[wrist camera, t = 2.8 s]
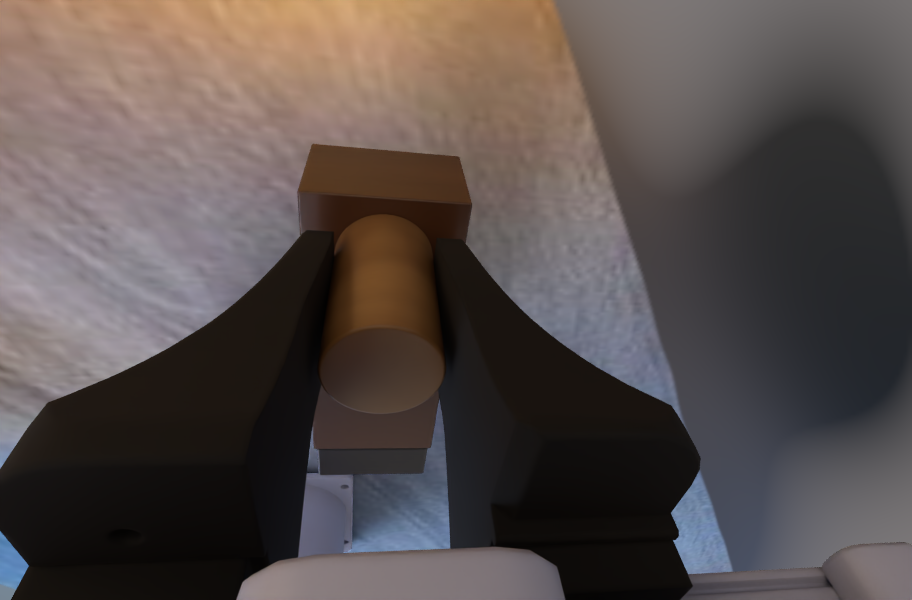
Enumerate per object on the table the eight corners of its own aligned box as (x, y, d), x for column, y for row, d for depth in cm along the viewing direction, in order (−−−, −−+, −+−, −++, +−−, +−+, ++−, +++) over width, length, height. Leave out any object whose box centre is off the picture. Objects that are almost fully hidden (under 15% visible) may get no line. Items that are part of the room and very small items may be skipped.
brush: (311, 143, 13) (262, 303, 8) (459, 155, 14) (502, 313, 9) (323, 413, 20) (300, 596, 15) (422, 414, 21) (434, 589, 16)
